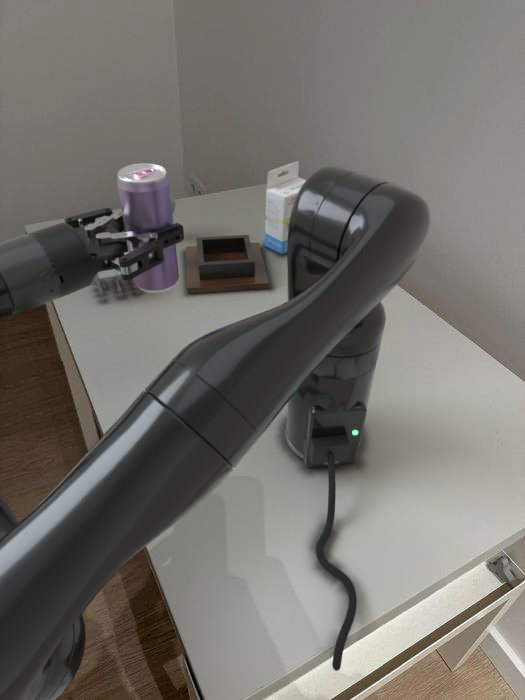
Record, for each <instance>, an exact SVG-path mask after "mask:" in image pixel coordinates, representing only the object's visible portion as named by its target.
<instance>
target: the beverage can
mask: <svg viewBox="0 0 525 700" xmlns="http://www.w3.org/2000/svg"><path fill="white" fill-rule="evenodd" d="M116 174H117V182H116V184H117V185H116V186H117V190H118V197H119V203H120V209H121V211H122V215H123V221H124V227H125V232H129V231H134V232H136V233H137V234H145V233H154V231H156V230H159V229H162V228H164V227H167V226H170V225H172V224H175V222H174V215H173V214H174V212H173V213H172V203H171V194H172V192H171V185H170V178H169V177H168V172H167V169H166V168H165V167H164V166H161V165H159V164H156V163H142V162H141V163H133V164H129V165H126V166H124V167H122V168H121V169H119V170H118V172H117V173H116ZM146 244H148V242H141V243H139V248H140V247H142V246H144V245H146ZM127 245H128V253H129V252H131V251H133V249H132V243H131V242H130V241H127ZM163 255H164V262H163V263H161V264H159V265H157V266H155V267H153V268H151V269H150V270H148V271H146V272H144V273H142V274H140V275H138V276H137V277H135V278H133V279H132V280H134V281H133V283H134V285H135V284H136V285H137V287H138V289H139V290H140V291H143V292H146V293H151V294H157V293H164V292H167V291H169V290H171V289H172V288H174V287H175V286H176V285H177V283H178V280H179V279H180V274H179V263H178V255H177V244H173V245H172V246H169V247H166V248H164V249H163ZM152 257H153V256H149V259H150V258H152ZM137 287H136V288H137Z"/></svg>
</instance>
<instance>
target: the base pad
mask: <svg viewBox="0 0 525 700" xmlns="http://www.w3.org/2000/svg"><path fill="white" fill-rule="evenodd" d="M184 248H185V269H186V271H185V274H186V290H187V295H193V294H207V293H222V292H223V293H224V292H239V291H254V290H255V291H256V290H269V289H270V279H269V275H268V273H267V269H266V264H265V262H264V257H263V253H262V249H261V246H260V242H251V238H250V235H249V234H237V235H217V236H215V235H214V236H200V237H199V236H198V237H196V245H191V246H190V245H189V246H185V247H184Z"/></svg>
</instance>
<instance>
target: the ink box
mask: <svg viewBox="0 0 525 700" xmlns="http://www.w3.org/2000/svg"><path fill="white" fill-rule="evenodd" d="M299 167H300V161H298V160H296V161H294V162H291V163H288V164H285V165H282V166H280V167H277V168H274V169H272V170H269V171H268V172H267V179H266V188H265V189H266V191H265V223H264V224H265V227H264V231H265V233H264V247H266V248H268V249H270V250H272V251H274V252H275V253H278V254H280V255H282V256H283V255H285V254H287V241H288V228H289V221H290V216H291V212H292V208H293V204H294V202H295V199H296V197H297V194H298V192H299V190H300V188H301V187H302V185H303V184H304V182H305V181H306V180H307V179H304V178H302V177H300V176H299ZM283 172H285V173H286V172H287V174H284V175H281V174H282V173H283ZM279 175H281V176H279Z"/></svg>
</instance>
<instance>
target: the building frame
mask: <svg viewBox="0 0 525 700" xmlns="http://www.w3.org/2000/svg"><path fill="white" fill-rule="evenodd" d="M119 277H122V275H121V272H119V271H117V270H116V269H113V270H107V271H101V272H98V273H97V274H96V276H95V278H94V280H95V283H96V285H97V289H98V292H99V296H101V298H102V301H103V302H105V300H104V291H103V288H102V285H103V287H104V289H106V286H105V285H106V284H105V280H109V279H113V280H114V283H115V285H116V290H117V292H118V295H119V297H121V296H123V292H122V288H121V284H120V282H119ZM130 281H131V283H132V286H133V288H134V289H135V291H137V290H139V288H138V287H137V285H136V284H135V283H134V280H133V279H131V280H130ZM101 282H102V285H101ZM139 294H140V292H139V291H137V292H135V295H139Z"/></svg>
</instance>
